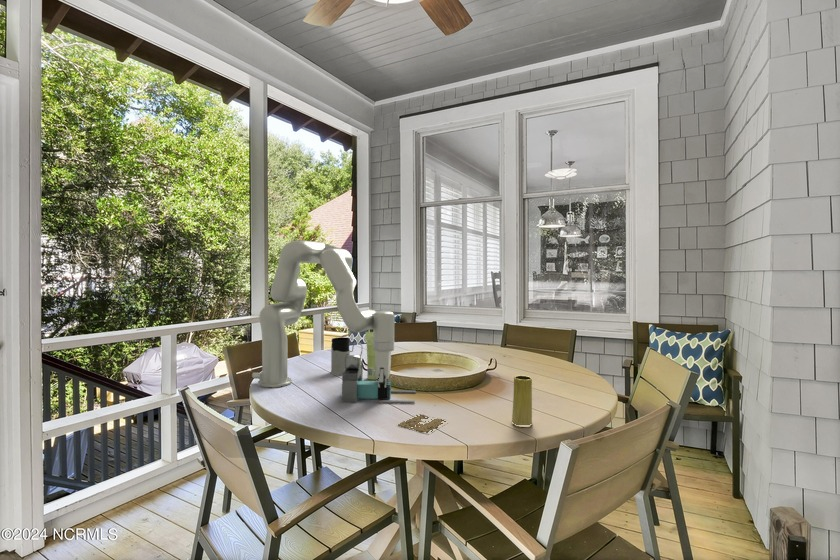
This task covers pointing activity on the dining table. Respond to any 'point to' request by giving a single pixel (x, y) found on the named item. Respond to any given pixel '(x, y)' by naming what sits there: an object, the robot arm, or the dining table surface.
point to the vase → (522, 400)
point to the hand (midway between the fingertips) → (383, 395)
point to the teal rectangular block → (371, 389)
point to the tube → (370, 356)
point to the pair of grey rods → (398, 400)
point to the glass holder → (340, 354)
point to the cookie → (422, 428)
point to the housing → (351, 378)
